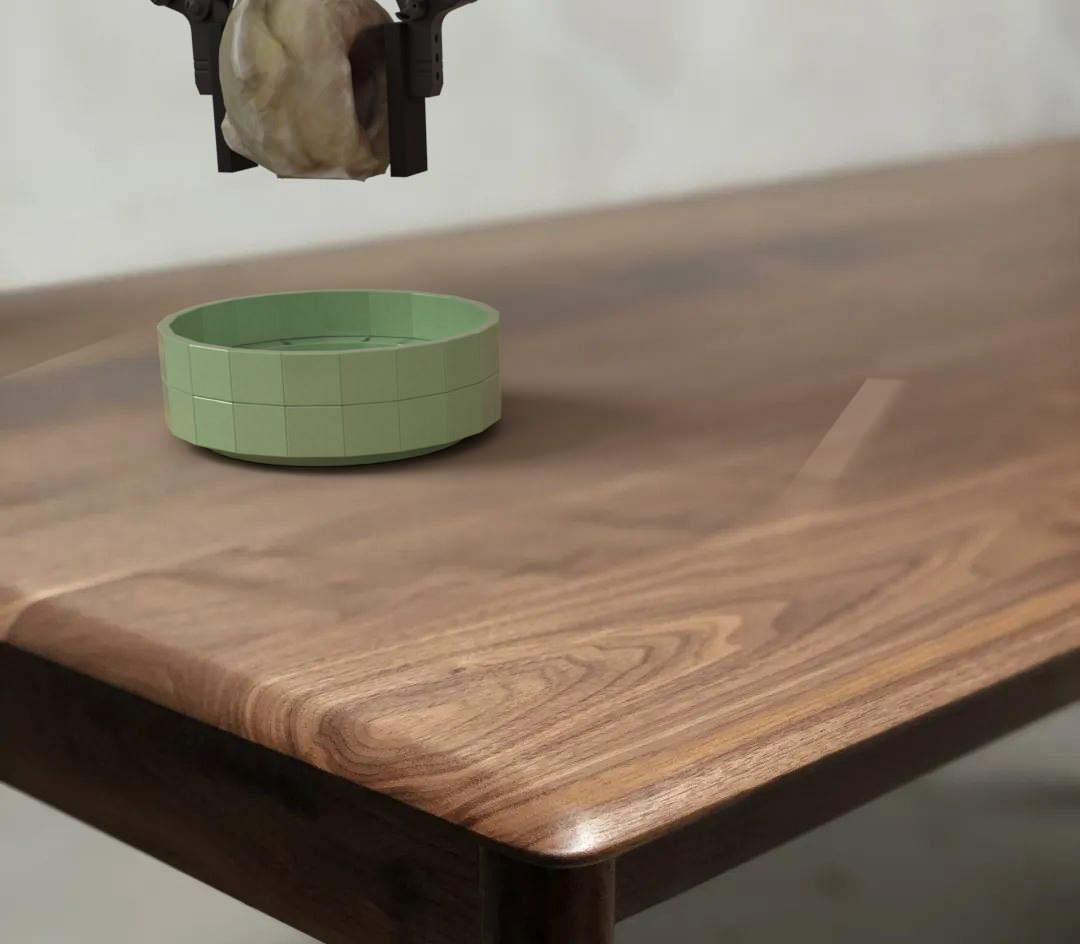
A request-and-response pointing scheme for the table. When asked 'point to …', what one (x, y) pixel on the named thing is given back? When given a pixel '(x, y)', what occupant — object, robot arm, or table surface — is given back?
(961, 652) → the table surface
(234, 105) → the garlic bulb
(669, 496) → the table surface
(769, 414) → the table surface
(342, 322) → the bowl
